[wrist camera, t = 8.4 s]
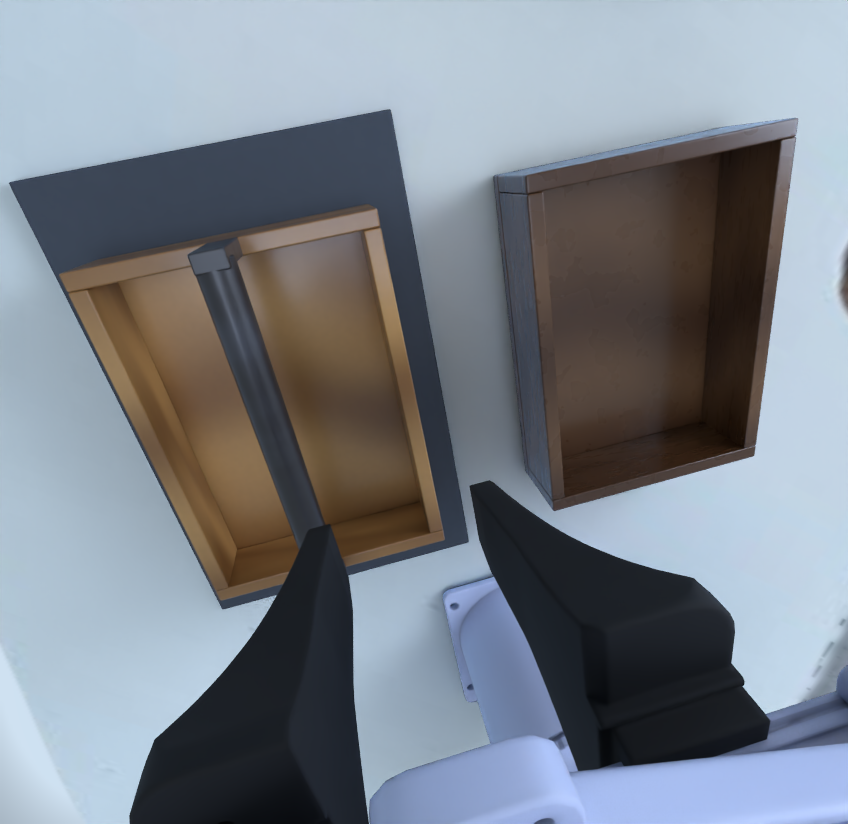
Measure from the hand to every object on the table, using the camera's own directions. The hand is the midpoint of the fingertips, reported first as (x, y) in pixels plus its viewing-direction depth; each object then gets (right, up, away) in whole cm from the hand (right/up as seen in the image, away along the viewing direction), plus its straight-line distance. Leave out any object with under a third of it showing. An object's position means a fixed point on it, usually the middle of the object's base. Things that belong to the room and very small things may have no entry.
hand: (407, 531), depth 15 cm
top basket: (-5, +4, +7) cm, 10 cm away
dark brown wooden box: (+9, +8, +9) cm, 15 cm away
